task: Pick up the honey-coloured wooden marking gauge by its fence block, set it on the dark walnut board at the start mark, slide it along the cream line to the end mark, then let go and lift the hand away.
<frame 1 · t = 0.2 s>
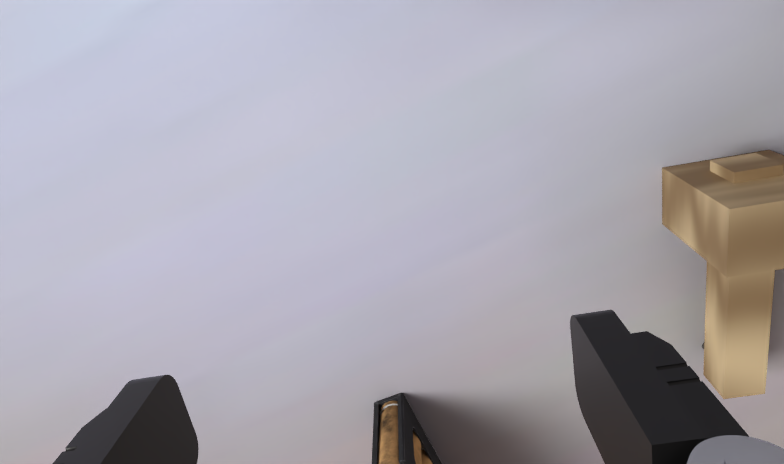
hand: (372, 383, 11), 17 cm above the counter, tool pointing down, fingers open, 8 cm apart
ammunition clip: (423, 458, 35), on the counter
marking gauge: (714, 187, 27), on the counter
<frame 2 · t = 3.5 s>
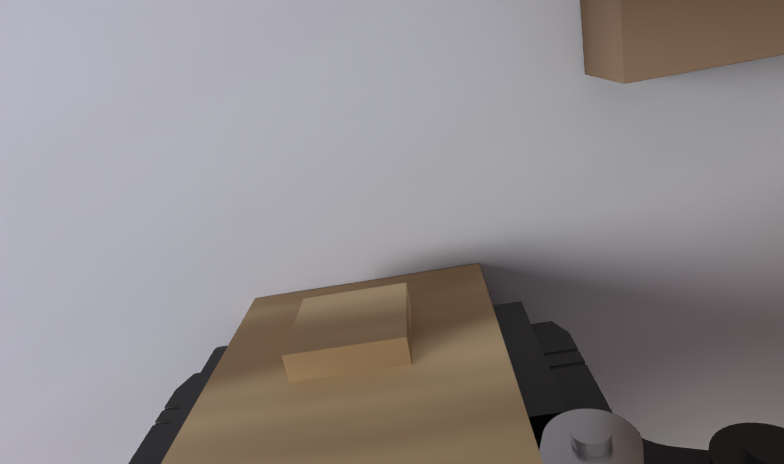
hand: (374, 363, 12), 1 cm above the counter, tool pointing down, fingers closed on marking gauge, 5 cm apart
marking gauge: (377, 340, 13), on the counter, touching gripper
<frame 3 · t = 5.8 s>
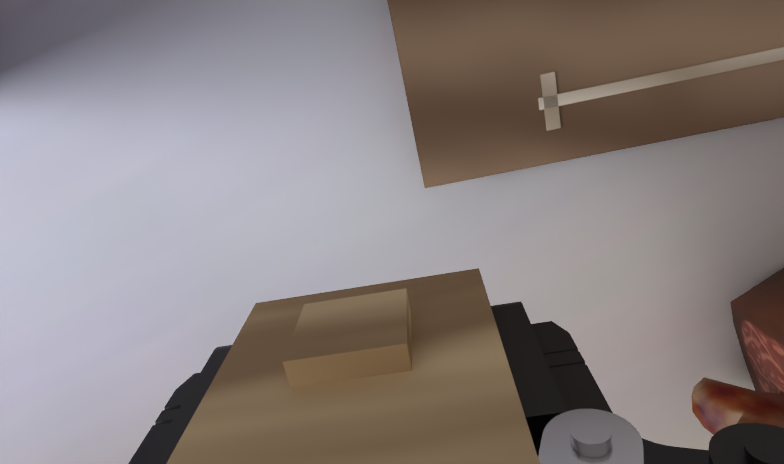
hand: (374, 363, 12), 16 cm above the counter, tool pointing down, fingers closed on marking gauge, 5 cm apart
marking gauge: (378, 344, 13), point 15 cm above the counter, touching gripper
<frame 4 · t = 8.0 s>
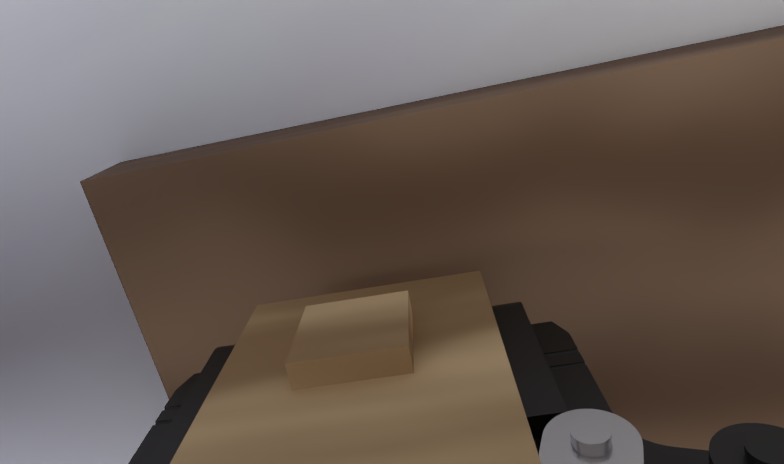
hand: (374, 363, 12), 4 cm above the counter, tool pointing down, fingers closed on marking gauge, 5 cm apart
walnut board: (596, 342, 16), on the counter
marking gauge: (379, 346, 13), point 3 cm above the counter, touching gripper
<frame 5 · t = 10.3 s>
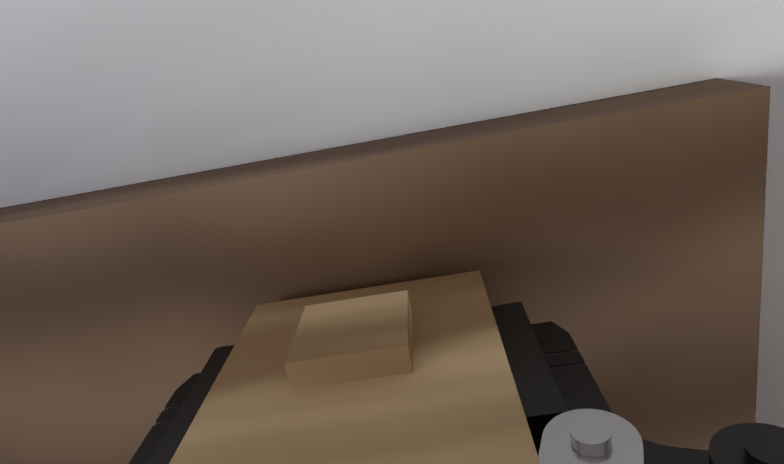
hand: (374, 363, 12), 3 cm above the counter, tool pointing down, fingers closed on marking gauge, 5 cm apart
walnut board: (298, 426, 16), on the counter
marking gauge: (379, 346, 13), point 2 cm above the counter, touching gripper
when the fingers open (3 cm above the counter, at t = 12.3 s): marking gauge stays where it is, resting on walnut board.
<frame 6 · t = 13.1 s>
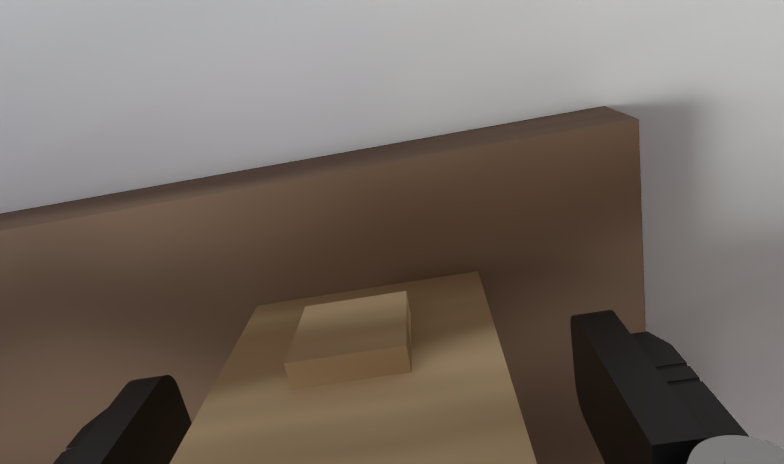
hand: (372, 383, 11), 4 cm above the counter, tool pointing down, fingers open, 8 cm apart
walnut board: (207, 449, 16), on the counter
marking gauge: (378, 346, 13), point 2 cm above the counter, touching walnut board
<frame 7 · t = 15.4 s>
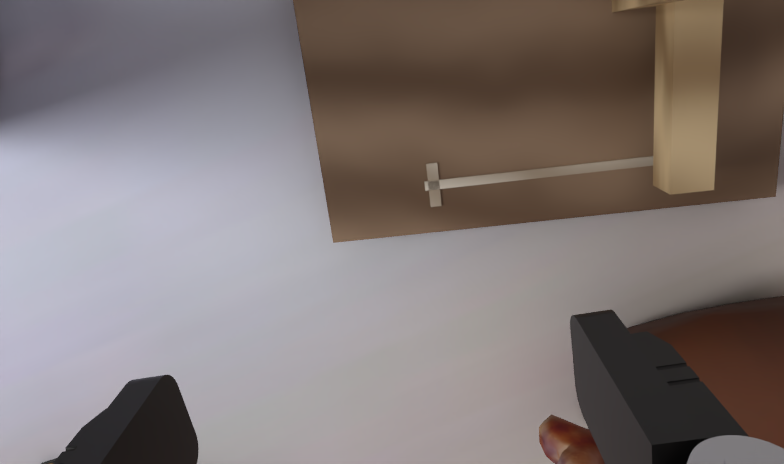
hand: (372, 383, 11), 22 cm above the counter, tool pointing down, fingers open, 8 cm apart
meat: (679, 356, 35), on the counter
walnut board: (533, 68, 30), on the counter
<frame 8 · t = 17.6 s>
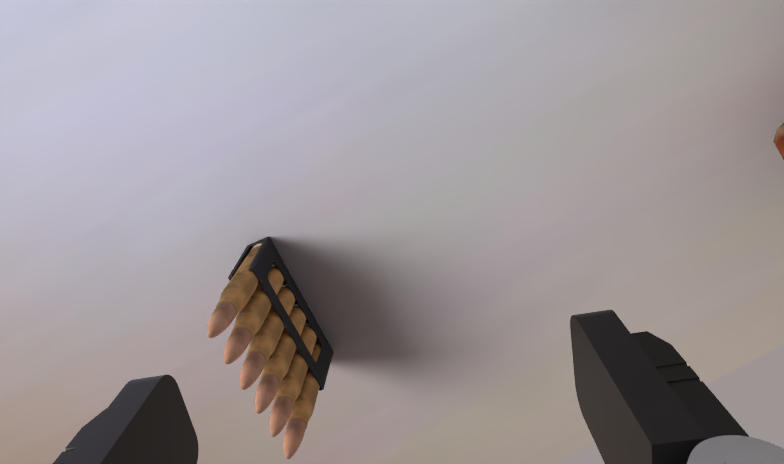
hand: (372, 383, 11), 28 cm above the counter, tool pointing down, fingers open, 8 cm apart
ammunition clip: (292, 299, 42), on the counter
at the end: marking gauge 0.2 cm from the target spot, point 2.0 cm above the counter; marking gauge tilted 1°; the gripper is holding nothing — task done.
